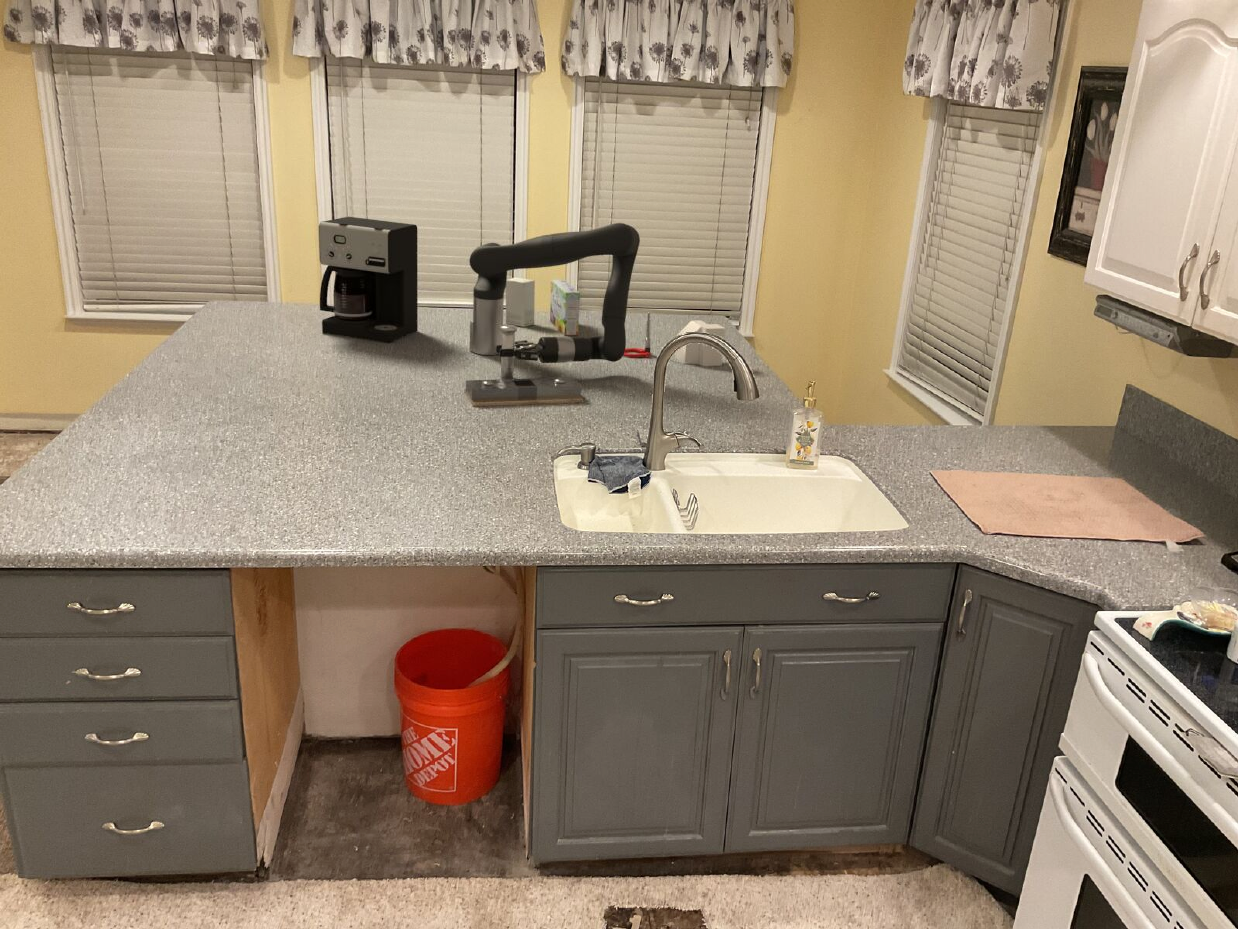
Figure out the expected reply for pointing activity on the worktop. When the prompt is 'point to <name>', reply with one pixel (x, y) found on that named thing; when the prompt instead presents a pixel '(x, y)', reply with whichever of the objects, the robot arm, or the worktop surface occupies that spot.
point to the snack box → (564, 307)
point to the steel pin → (507, 343)
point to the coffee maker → (369, 278)
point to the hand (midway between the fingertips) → (498, 350)
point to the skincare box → (520, 301)
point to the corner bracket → (700, 346)
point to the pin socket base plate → (523, 391)
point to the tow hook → (645, 351)
